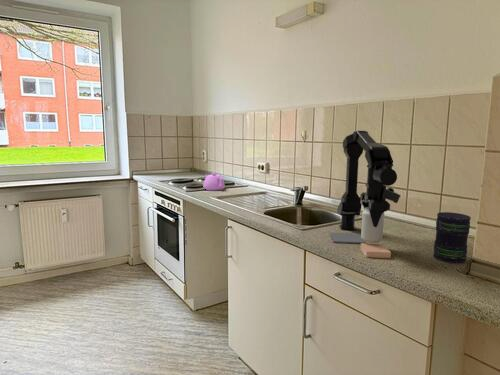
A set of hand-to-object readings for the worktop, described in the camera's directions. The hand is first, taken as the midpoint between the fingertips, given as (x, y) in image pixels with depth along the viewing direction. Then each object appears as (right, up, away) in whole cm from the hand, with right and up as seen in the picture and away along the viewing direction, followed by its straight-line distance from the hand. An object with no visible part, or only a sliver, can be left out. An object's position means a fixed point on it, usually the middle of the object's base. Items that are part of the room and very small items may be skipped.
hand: (372, 224), depth 128 cm
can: (0, -6, +1) cm, 6 cm away
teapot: (-71, +12, +128) cm, 146 cm away
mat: (-6, -7, +12) cm, 15 cm away
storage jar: (+23, -11, -9) cm, 27 cm away
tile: (0, -8, 0) cm, 8 cm away
